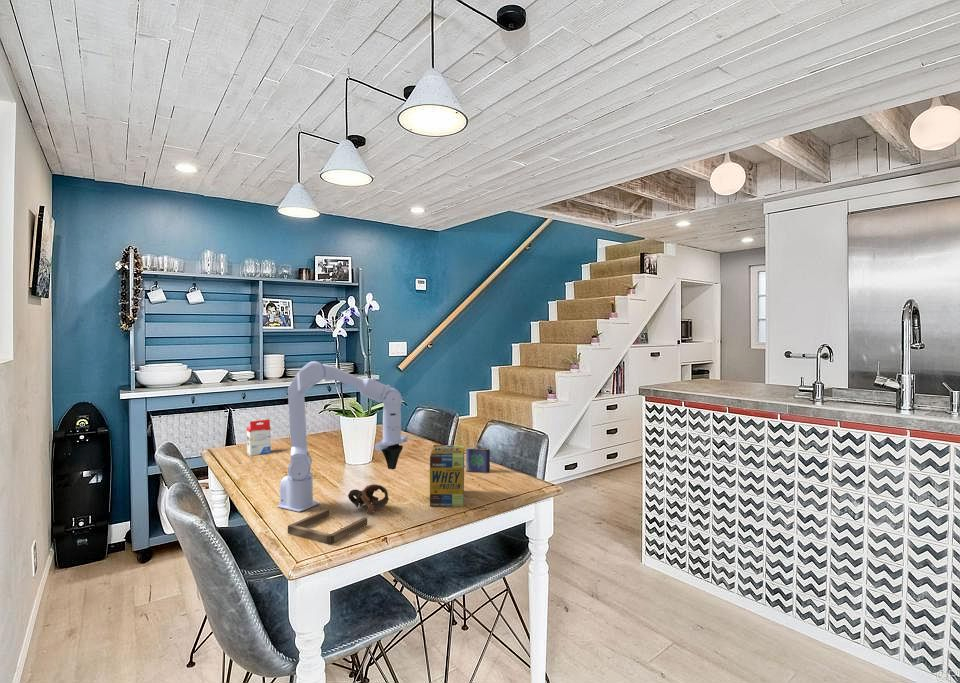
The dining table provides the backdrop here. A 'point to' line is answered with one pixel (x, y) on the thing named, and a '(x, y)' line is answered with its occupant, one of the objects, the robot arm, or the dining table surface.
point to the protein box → (447, 475)
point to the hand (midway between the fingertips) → (391, 468)
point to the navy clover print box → (478, 459)
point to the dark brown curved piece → (369, 498)
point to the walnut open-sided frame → (304, 532)
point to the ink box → (258, 438)
